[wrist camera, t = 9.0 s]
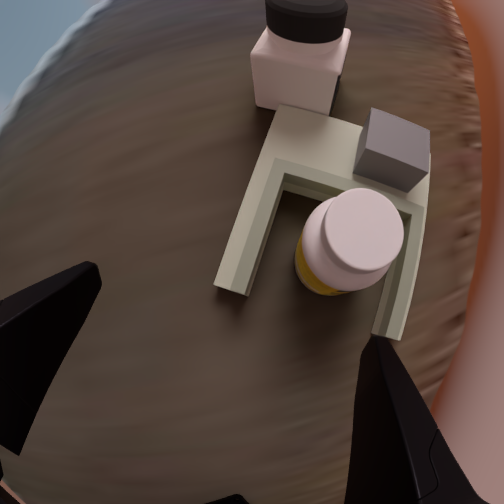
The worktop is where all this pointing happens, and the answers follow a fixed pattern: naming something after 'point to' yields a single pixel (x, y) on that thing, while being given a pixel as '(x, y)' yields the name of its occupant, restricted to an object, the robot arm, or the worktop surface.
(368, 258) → the supplement bottle
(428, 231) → the worktop surface
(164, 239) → the worktop surface
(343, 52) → the medicine bottle
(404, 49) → the worktop surface
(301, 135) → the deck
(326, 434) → the worktop surface
